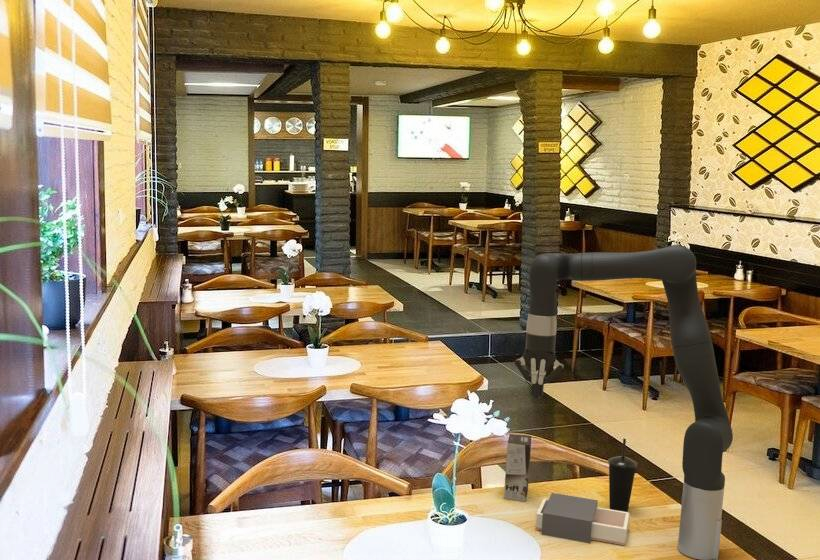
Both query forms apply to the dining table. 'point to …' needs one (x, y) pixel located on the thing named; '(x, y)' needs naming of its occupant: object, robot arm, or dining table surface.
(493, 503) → the dining table surface
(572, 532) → the sleeve
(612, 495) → the drinking cup
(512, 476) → the coffee box
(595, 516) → the sliding drawer box
